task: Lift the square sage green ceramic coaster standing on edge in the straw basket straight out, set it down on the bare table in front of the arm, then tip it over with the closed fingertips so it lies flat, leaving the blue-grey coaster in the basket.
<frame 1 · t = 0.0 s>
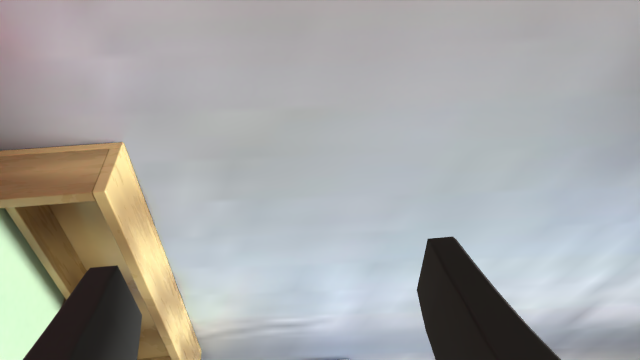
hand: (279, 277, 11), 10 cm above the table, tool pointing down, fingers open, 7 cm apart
coaster basket: (75, 278, 26), on the table
sage coaster: (37, 226, 22), resting on coaster basket
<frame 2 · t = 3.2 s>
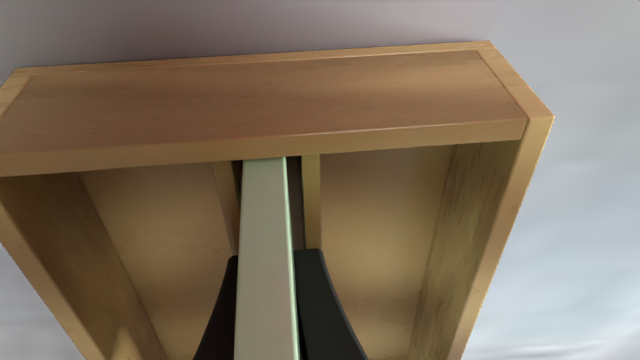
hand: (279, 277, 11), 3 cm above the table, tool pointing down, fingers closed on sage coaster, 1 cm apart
coaster basket: (286, 291, 16), on the table
sage coaster: (276, 204, 13), resting on coaster basket, touching gripper
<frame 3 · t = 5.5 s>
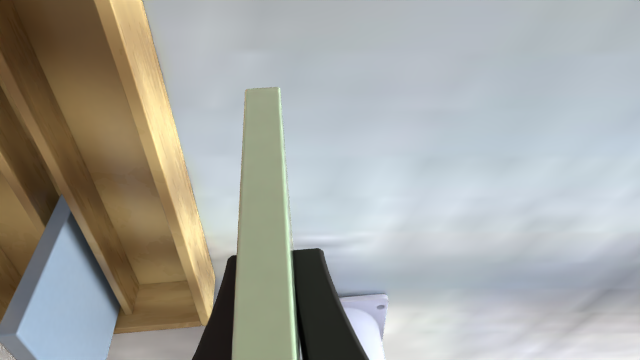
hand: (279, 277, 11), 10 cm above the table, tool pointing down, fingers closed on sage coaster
coaster basket: (66, 166, 21), on the table
sage coaster: (275, 204, 13), point 8 cm above the table, touching gripper
blue coaster: (98, 241, 24), resting on coaster basket
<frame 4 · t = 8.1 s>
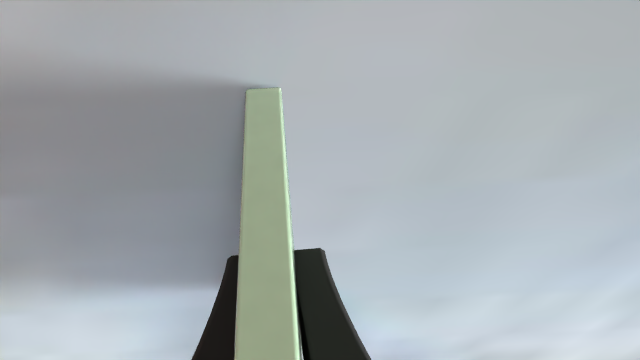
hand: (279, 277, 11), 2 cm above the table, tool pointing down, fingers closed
sage coaster: (276, 205, 13), on the table
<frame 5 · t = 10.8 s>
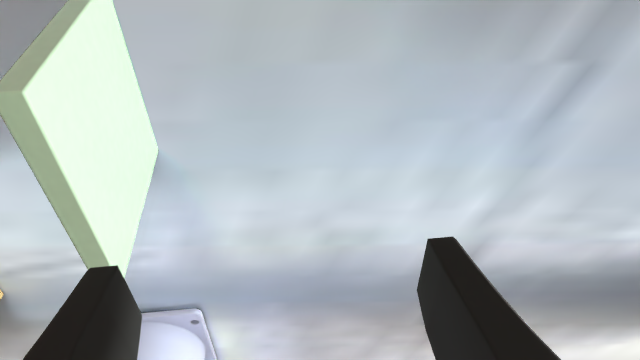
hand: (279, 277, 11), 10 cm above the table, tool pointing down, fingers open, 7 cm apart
sage coaster: (126, 77, 18), on the table
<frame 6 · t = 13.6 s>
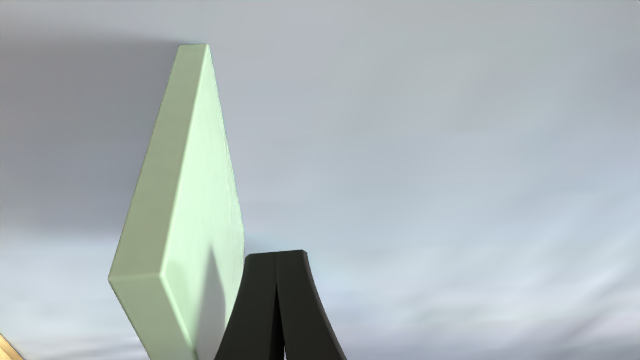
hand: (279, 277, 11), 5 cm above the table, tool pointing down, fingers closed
sage coaster: (217, 155, 15), on the table, touching gripper
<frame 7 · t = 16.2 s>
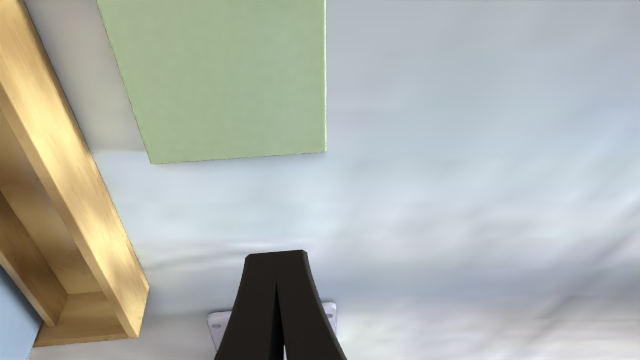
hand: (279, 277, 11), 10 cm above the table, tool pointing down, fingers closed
sage coaster: (325, 70, 18), on the table, tilted 90°
blue coaster: (15, 250, 23), resting on coaster basket
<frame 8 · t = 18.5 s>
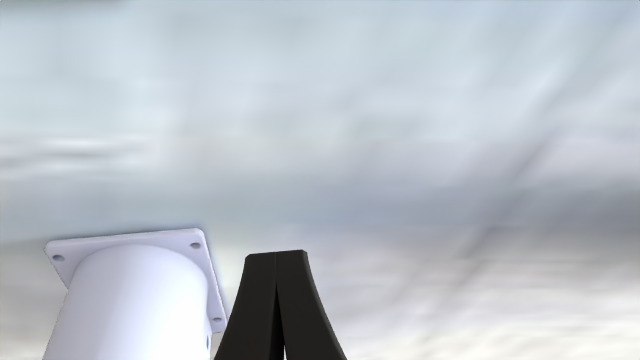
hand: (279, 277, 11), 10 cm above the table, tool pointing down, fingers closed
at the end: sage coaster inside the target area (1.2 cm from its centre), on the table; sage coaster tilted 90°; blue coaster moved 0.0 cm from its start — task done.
